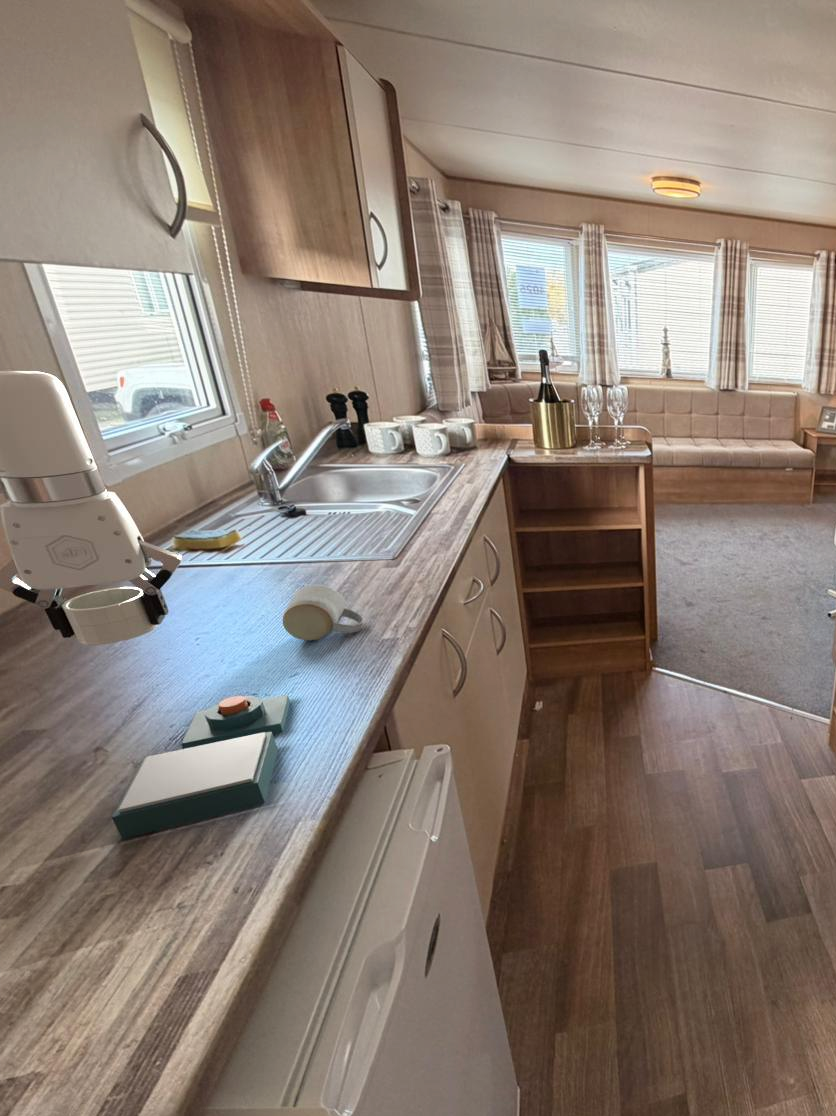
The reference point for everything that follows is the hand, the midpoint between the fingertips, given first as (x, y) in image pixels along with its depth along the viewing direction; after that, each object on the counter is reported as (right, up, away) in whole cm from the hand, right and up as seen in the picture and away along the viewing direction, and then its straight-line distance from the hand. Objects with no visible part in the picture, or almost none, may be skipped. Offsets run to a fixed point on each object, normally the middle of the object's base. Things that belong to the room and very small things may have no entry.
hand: (116, 625), depth 79 cm
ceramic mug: (+2, -2, +33) cm, 33 cm away
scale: (+16, -19, -5) cm, 25 cm away
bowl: (0, -1, 0) cm, 1 cm away
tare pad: (+10, -14, +7) cm, 18 cm away
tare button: (+10, -11, +6) cm, 16 cm away
